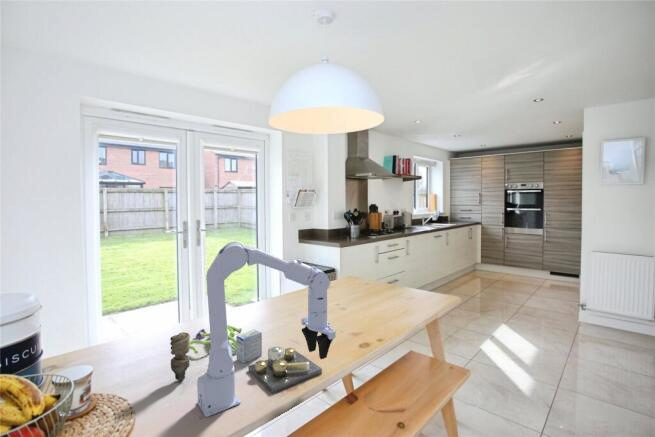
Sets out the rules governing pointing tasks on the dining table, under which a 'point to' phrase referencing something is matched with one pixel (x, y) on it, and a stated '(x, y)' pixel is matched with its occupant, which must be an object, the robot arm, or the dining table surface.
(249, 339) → the medicine box
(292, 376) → the levelling base
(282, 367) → the brass lever handle
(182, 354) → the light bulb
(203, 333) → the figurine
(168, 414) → the dining table surface
